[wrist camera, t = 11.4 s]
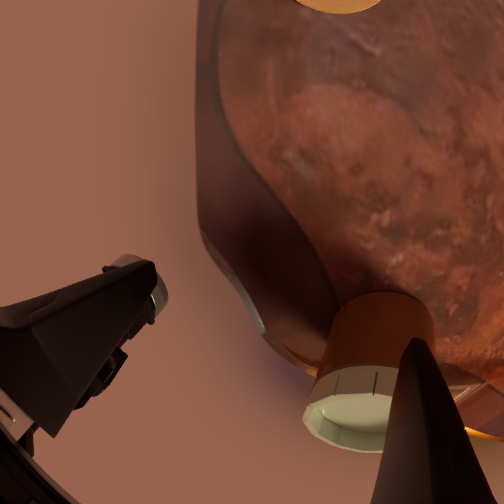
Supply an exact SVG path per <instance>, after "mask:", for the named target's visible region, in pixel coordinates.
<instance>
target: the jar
mask: <svg viewBox="0 0 504 504" xmlns="http://www.w3.org/2000/svg"><path fill="white" fill-rule="evenodd" d="M413 337H417V338H421V339H424V340H425V341H426V342H427V344H428V346H429V348H430V350H431V352H432V354H433V356H434V358H435V360H436V350H435V330H434V322H433V319H432V316H431V314H430V313H429V311H428V310H427V309H426V307H425V306H424V305H422V304H421V303H420V302H419V301H417V300H416V299H414V298H412V297H410V296H407V295H404V294H401V293H396V292H388V291H380V292H371V293H367V294H363V295H361V296H358V297H356V298H354V299H352V300H350V301H349V302H347V303H346V304H345V305H344V306H342V307H341V309H340V310H339V311H338V312H337V314H336V316H335V318H334V320H333V323H332V327H331V330H330V334H329V337H328V340H327V343H326V347H325V350H324V353H323V356H322V359H321V362H320V365H319V368H318V371H317V374H316V377H315V380H314V383H313V386H312V390H311V396H310V398H309V401H308V404H307V406H306V409H305V412H304V414H303V417H302V419H303V420H302V421H303V422H304V424H305V425H306V427H307V428H308V429H309V431H310V432H311V434H313V435H314V436H316V437H317V438H319V439H321V440H323V441H325V442H327V443H329V444H331V445H332V446H336V447H339V448H343V449H347V450H352V451H357V452H362V451H363V453H383V448H384V443H385V437H386V432H387V426H388V419H389V413H390V406H391V401H392V396H393V392H394V388H395V384H396V379H397V375H398V370H399V365H400V360H401V357H402V354H403V352H404V351H405V349H406V347H407V346H408V344H409V342H410V340H411V339H412V338H413Z"/></svg>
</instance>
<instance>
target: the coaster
mask: <svg viewBox="0 0 504 504" xmlns="http://www.w3.org/2000/svg"><path fill="white" fill-rule="evenodd" d="M296 1H297V2H299V3H301V4H302V5H304V6H306V7H308V8H311V9H313V10H316V11H320V12H324V13H331V14H349V13H355V12H359V11H363V10H365V9H368V8H370V7H372V6H374V5H376V4H377V3H378V2H379V1H381V0H296Z"/></svg>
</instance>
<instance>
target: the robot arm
mask: <svg viewBox="0 0 504 504" xmlns="http://www.w3.org/2000/svg"><path fill="white" fill-rule="evenodd" d="M102 271H103V273H102V274H99V275H96V276H94V277H91V278H88V279H86V280H83V281H80V282H77V283H75V284H72V285H69V286H66V287H64V288H61V289H58V290H55V291H53V292H50V293H47V294H44V295H41V296H38V297H35V298H32V299H29V300H25V301H22V302H19V303H15V304H12V305H9V306H5V307H0V504H80V503H79V502H78V501H77V500H76V499H74V498H73V497H72V496H71V495H70V494H69V493H67V492H66V491H65V490H64V489H63V488H62V487H61V486H60V485H59V484H57V483H56V482H55V481H54V480H53V479H52V478H51V477H50V476H49V475H48V474H47V473H46V472H45V471H44V470H43V469H42V468H41V467H40V466H39V465H38V464H37V463H36V462H35V461H34V460H33V459H32V457H33V456H34V444H33V434H34V432H35V431H36V430H37V429H38V428H39V427H41V428H42V429H43V430H45V431H46V432H47V433H48V434H49V435H50V436H51V437H53V438H55V437H56V435H57V434H58V432H59V431H60V429H61V428H62V426H63V424H64V423H65V421H66V419H67V418H68V417H69V415H70V413H71V412H72V411H73V410H76V409H79V408H82V407H83V406H84V405H85V404H86V403H87V401H88V400H89V398H91V396H92V397H95V396H97V395H99V394H100V393H102V392H103V391H104V390H105V389H106V388H107V387H108V386H109V385H110V383H111V382H112V380H113V379H114V377H115V376H116V374H117V373H118V371H119V369H120V368H121V366H122V365H123V363H124V362H125V360H126V359H127V357H128V355H127V354H126V353H125V352H123V351H122V350H121V348H120V347H121V346H122V345H123V344H124V343H125V342H126V341H127V339H129V340H131V339H132V338H133V337H134V336H135V335H136V334H137V333H138V332H139V331H140V330H141V328H142V327H143V326H144V325H145V324H146V323H148V324H150V325H153V324H154V323H155V320H154V317H153V313H152V309H151V305H150V301H149V297H150V295H151V294H152V292H153V290H154V289H155V287H156V285H157V282H158V279H157V274H156V269H155V264H154V263H153V262H152V261H149V260H146V259H142V260H139V261H136V262H133V263H130V264H128V265H125V266H122V267H119V268H116V269H113V268H110V267H108V266H104V267H103V268H102ZM464 429H465V427H464V424H463V421H462V419H461V416H460V414H459V412H458V409H457V407H456V404H455V402H454V400H453V397H452V395H451V393H450V391H449V388H448V386H447V384H446V382H445V379H444V377H443V375H442V373H441V371H440V369H439V367H438V364H437V362H436V360H435V358H434V356H433V354H432V352H431V350H430V348H429V346H428V344H427V342H426V341H425V340H424V339H421V338H417V337H413V338H412V339H411V340H410V342H409V344H408V346H407V347H406V349H405V351H404V352H403V354H402V357H401V360H400V365H399V370H398V375H397V379H396V384H395V388H394V392H393V396H392V401H391V406H390V413H389V419H388V426H387V432H386V437H385V443H384V448H383V453H382V458H381V462H380V467H379V471H378V476H377V480H376V484H375V488H374V492H373V496H372V499H371V503H370V504H498V503H497V502H496V500H495V498H494V496H493V494H492V491H491V489H490V487H489V484H488V482H487V480H486V477H485V475H484V473H483V471H482V468H481V466H480V464H479V462H478V459H477V457H476V455H475V452H474V450H473V447H472V445H471V442H470V440H469V437H468V434H467V432H466V430H464Z"/></svg>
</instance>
